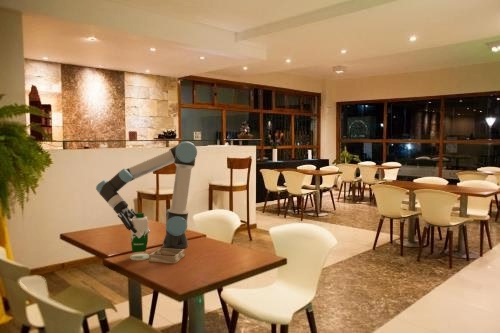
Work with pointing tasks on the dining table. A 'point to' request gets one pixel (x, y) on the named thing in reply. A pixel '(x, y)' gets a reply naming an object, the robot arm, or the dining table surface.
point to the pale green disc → (139, 257)
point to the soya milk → (142, 226)
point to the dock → (158, 257)
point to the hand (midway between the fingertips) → (144, 234)
